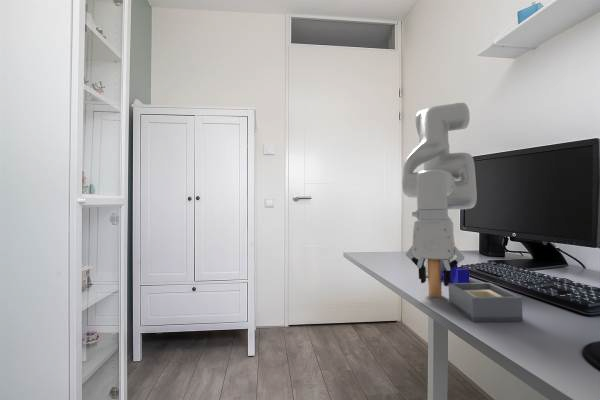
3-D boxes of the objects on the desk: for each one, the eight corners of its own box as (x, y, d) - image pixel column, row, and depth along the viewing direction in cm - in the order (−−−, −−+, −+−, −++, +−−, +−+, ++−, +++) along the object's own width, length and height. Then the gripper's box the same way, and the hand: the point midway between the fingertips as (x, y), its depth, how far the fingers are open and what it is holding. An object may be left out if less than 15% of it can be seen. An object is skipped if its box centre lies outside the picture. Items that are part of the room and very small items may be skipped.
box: (449, 303, 78) (448, 283, 78) (490, 302, 78) (490, 282, 78) (473, 322, 66) (472, 298, 66) (522, 321, 66) (521, 297, 66)
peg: (430, 293, 87) (428, 257, 87) (442, 294, 85) (441, 257, 85) (427, 296, 84) (426, 258, 84) (440, 298, 83) (439, 259, 83)
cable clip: (441, 280, 101) (440, 261, 101) (456, 280, 100) (455, 261, 100) (452, 291, 89) (451, 269, 89) (469, 291, 88) (469, 269, 88)
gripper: (396, 216, 86) (398, 283, 86) (466, 216, 77) (469, 291, 77) (404, 215, 93) (406, 277, 93) (469, 215, 83) (472, 283, 83)
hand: (434, 282), depth 85 cm, fingers open, 5 cm apart
